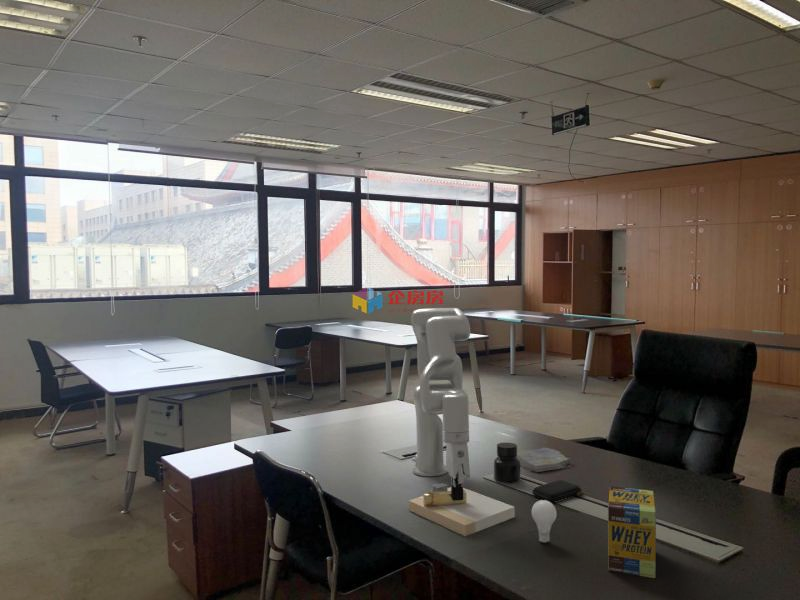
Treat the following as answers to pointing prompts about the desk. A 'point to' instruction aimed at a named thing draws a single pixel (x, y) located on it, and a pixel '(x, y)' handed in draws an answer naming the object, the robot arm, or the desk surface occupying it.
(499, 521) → the white cabinet door
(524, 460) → the grey flat stone slab
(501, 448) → the ink bottle
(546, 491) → the carrying case or bag
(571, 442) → the desk surface
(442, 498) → the gold bar
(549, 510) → the lightbulb
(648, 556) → the protein box
